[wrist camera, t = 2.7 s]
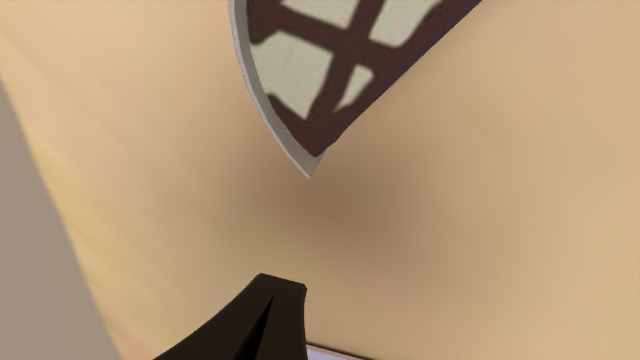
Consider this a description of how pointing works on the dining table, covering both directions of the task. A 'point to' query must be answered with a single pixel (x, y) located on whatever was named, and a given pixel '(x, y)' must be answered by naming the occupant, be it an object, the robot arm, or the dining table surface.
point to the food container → (330, 60)
